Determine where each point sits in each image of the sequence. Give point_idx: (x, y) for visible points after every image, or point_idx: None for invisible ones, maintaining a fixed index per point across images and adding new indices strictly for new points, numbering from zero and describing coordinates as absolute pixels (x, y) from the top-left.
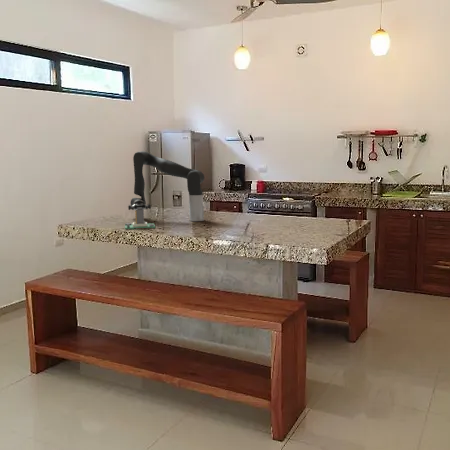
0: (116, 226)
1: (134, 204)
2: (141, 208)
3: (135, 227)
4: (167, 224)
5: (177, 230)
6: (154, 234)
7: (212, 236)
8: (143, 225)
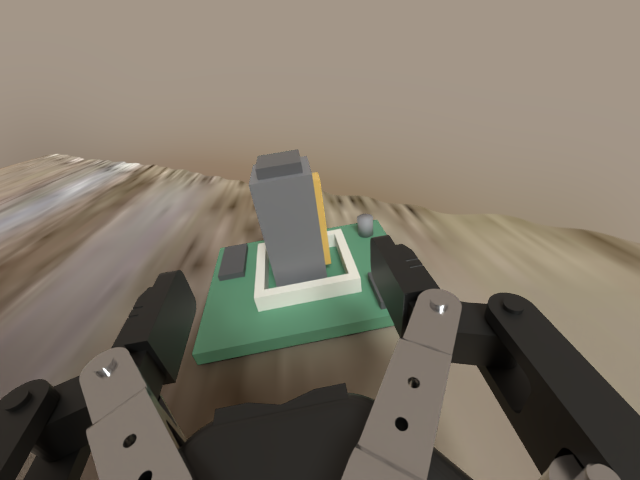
0: None
1: (439, 416)
2: (265, 156)
3: None
4: None
5: (146, 233)
6: None
7: (111, 186)
8: None
